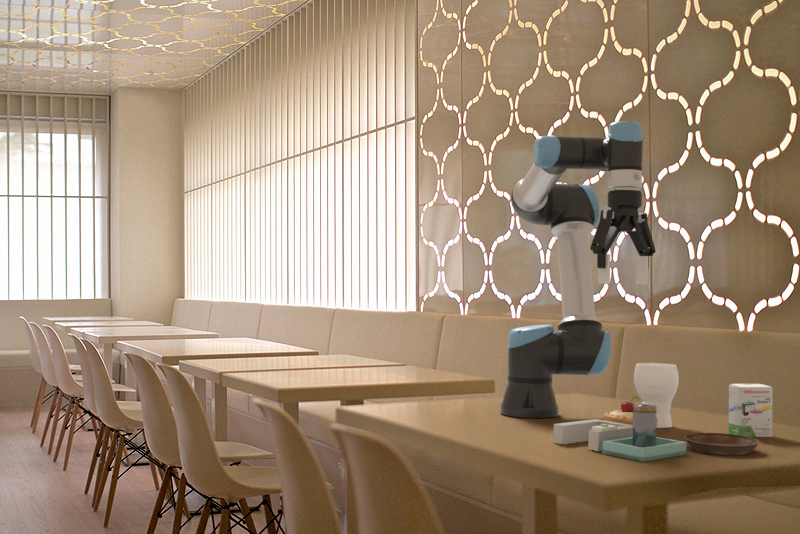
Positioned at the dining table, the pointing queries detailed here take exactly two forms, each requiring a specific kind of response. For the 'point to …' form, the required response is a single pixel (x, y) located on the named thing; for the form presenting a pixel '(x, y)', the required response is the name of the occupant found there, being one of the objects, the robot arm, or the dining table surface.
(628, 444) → the trough
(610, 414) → the pastry
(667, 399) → the cup
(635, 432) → the cell
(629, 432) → the white hook bar
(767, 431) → the ink box
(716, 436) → the saucer
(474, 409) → the dining table surface
